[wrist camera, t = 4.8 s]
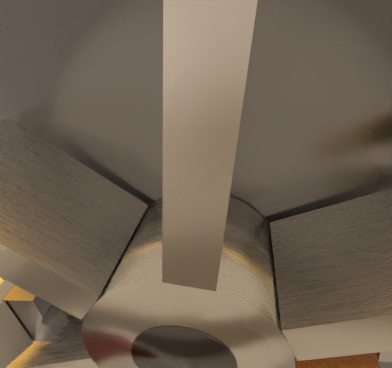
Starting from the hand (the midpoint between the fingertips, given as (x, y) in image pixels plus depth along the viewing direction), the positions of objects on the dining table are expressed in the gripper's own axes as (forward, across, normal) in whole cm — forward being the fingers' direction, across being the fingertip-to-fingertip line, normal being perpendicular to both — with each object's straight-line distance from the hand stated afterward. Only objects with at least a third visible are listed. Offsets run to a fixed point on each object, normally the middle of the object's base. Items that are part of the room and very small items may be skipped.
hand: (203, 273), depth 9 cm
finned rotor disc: (+1, 0, 0) cm, 1 cm away
